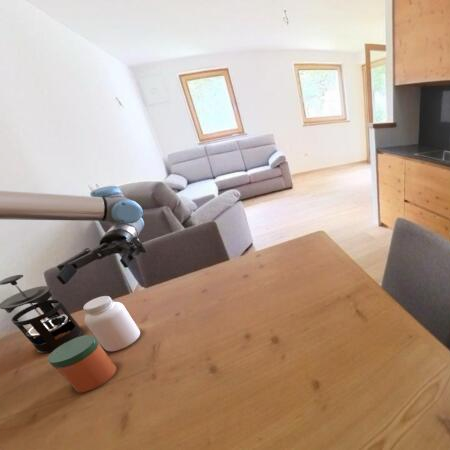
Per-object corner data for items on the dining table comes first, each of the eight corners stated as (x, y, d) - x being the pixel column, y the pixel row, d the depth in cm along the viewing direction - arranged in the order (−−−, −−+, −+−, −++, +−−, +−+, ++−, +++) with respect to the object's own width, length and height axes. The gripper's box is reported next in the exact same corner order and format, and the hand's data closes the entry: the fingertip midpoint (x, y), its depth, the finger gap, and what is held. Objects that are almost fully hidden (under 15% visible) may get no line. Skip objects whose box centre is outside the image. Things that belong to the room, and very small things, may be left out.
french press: (81, 342, 82) (31, 279, 72) (33, 361, 76) (-29, 296, 66) (86, 320, 90) (42, 261, 80) (43, 336, 85) (-10, 275, 74)
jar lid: (41, 370, 63) (36, 364, 62) (73, 342, 70) (69, 337, 69) (79, 365, 64) (75, 359, 63) (107, 337, 71) (103, 332, 70)
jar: (66, 394, 67) (39, 365, 63) (93, 366, 74) (70, 338, 69) (100, 389, 68) (76, 360, 63) (124, 362, 75) (103, 334, 70)
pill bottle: (108, 357, 76) (78, 317, 70) (102, 343, 81) (73, 304, 74) (144, 338, 82) (119, 299, 75) (137, 326, 87) (113, 288, 80)
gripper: (167, 237, 102) (153, 267, 85) (77, 259, 92) (42, 298, 75) (157, 219, 98) (141, 247, 81) (63, 240, 89) (22, 276, 72)
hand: (93, 271), depth 78 cm, fingers open, 13 cm apart
